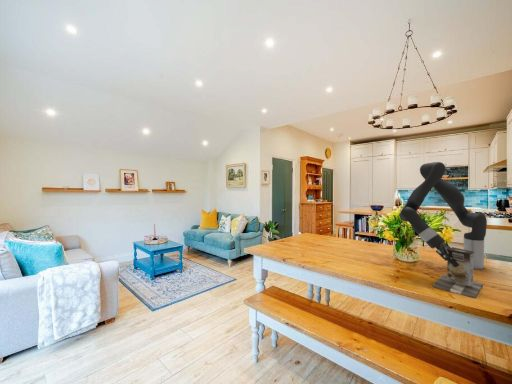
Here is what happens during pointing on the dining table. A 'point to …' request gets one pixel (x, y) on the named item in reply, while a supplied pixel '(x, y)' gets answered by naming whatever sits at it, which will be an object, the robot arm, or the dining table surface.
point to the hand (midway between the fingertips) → (459, 264)
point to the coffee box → (461, 266)
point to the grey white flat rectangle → (458, 287)
